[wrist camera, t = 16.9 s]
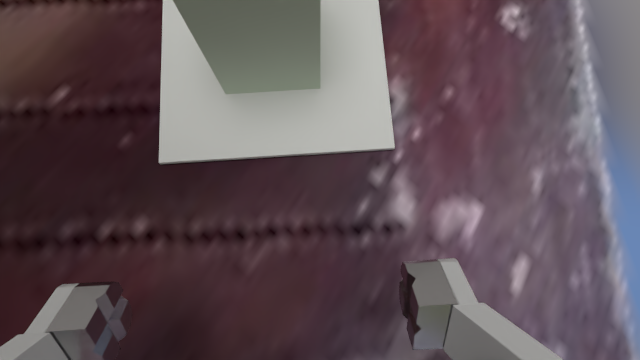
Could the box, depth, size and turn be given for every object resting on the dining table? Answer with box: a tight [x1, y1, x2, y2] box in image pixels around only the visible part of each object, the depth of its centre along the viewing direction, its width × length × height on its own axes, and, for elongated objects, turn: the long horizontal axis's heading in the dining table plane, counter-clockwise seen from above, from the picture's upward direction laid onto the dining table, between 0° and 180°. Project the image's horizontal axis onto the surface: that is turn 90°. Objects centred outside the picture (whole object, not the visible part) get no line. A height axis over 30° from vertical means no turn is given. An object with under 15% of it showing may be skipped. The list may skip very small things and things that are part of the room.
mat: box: [159, 0, 395, 164], centre depth 21 cm, size 12×12×1 cm
